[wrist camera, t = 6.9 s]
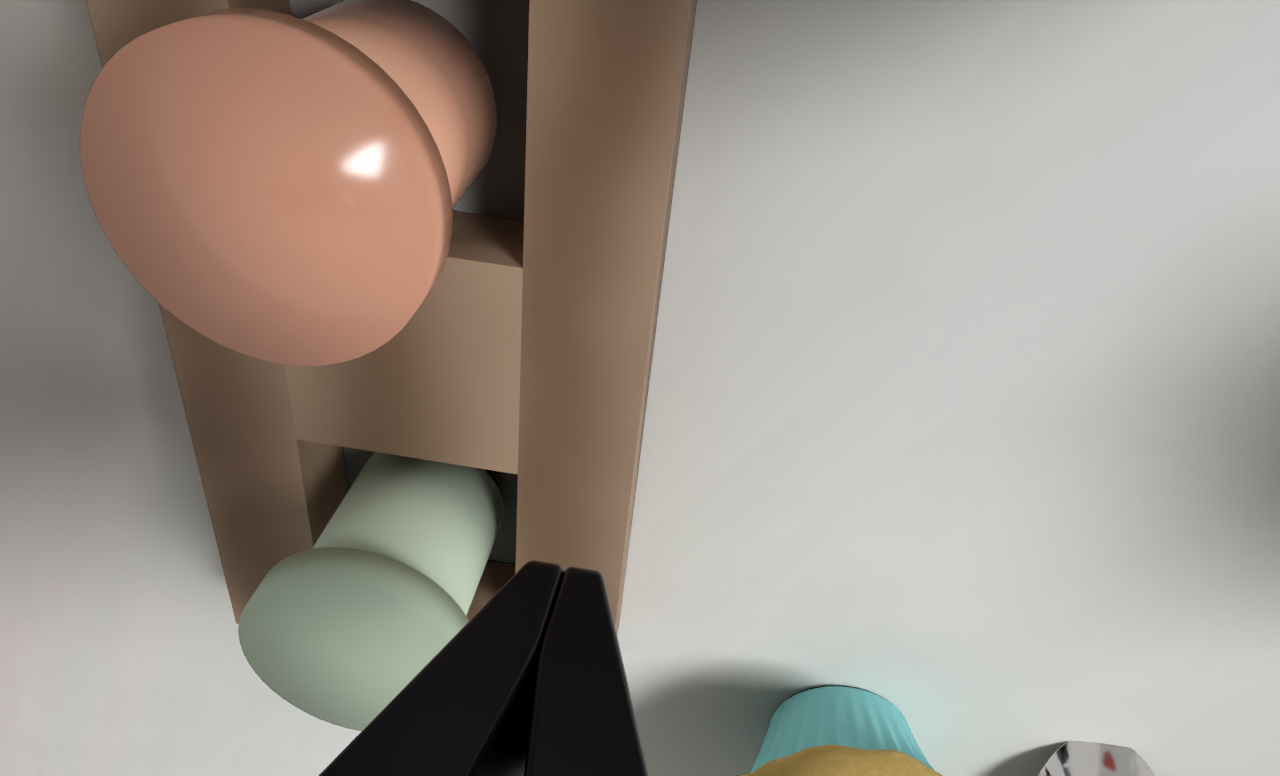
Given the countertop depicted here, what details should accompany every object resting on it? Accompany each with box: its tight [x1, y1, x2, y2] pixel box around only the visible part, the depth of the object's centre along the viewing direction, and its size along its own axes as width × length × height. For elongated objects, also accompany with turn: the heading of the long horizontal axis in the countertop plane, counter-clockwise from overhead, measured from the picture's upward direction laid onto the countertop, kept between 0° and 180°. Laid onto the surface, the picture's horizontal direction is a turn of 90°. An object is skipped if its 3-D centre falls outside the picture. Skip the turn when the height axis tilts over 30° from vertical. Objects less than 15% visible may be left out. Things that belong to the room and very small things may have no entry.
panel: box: [86, 0, 697, 634], centre depth 22 cm, size 12×22×2 cm, turn 174°
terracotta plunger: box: [80, 0, 497, 366], centre depth 16 cm, size 6×6×6 cm
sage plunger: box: [238, 452, 504, 731], centre depth 24 cm, size 6×6×6 cm
